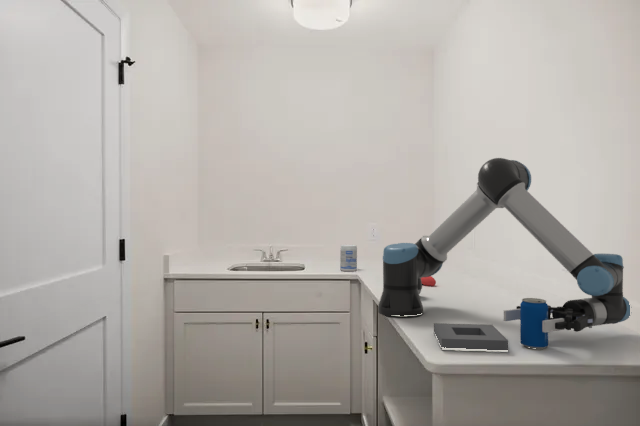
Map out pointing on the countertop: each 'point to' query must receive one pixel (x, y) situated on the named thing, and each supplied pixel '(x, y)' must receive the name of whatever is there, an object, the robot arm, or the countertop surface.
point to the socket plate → (470, 336)
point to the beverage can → (533, 323)
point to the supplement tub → (348, 258)
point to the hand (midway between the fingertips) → (523, 320)
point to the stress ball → (428, 281)
